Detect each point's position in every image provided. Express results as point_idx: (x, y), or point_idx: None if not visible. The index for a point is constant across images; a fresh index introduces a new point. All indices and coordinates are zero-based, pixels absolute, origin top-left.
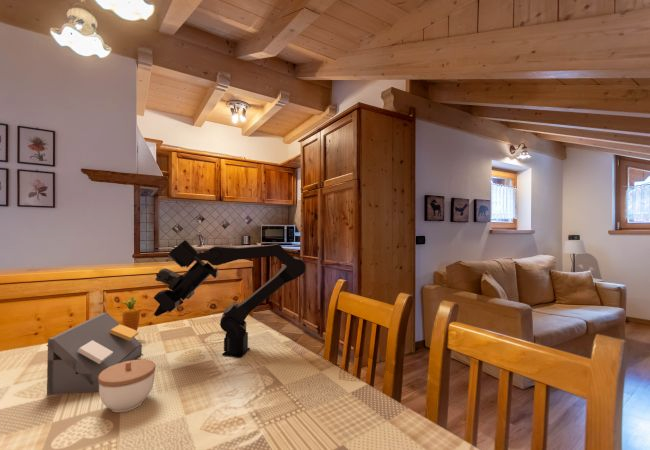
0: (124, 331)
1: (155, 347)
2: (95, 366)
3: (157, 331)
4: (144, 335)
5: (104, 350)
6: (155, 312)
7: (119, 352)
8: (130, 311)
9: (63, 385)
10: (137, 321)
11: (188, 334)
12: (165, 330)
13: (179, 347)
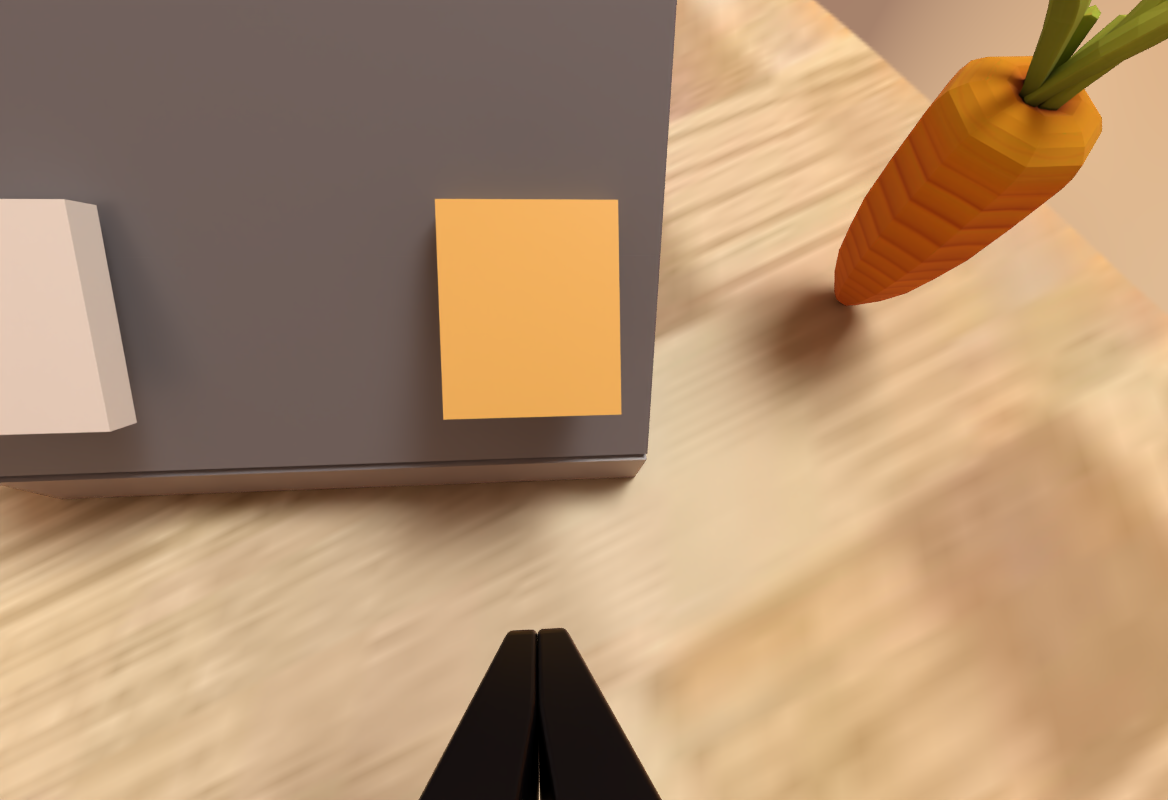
0: (506, 311)
1: (748, 528)
2: None
3: (1057, 392)
4: (959, 338)
5: (48, 369)
6: (486, 679)
7: (357, 412)
8: (972, 123)
9: None
10: (948, 251)
11: (1070, 703)
12: (1095, 444)
13: (761, 753)
